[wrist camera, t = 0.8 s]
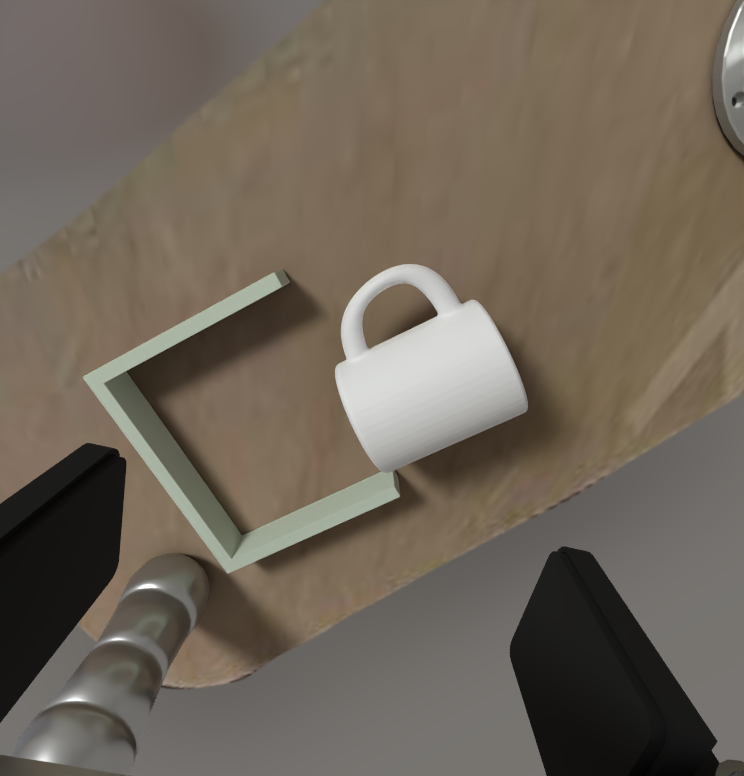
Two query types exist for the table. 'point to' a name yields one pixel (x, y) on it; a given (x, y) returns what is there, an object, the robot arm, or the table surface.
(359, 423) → the mug
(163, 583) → the plastic bottle
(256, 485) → the table surface
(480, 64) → the table surface
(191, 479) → the green u-shaped bracket
